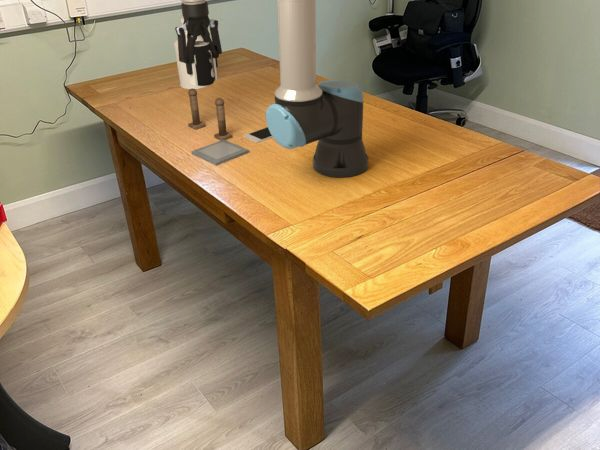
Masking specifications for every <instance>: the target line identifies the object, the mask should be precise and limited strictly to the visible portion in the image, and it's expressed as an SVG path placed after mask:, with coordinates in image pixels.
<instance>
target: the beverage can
mask: <svg viewBox="0 0 600 450" xmlns="http://www.w3.org/2000/svg"><path fill="white" fill-rule="evenodd" d="M192 63H195V67H196V74H197V82H198V85H197V86H206V87H208V86H212V85H213V84H214V82H215V81H216V80H215V77H214V68H213V59H212V51H211V46H210V45H209V42H208V43H206V42H204V41H196V42H195V49H194V55H193V62H192ZM207 85H208V86H207Z"/></svg>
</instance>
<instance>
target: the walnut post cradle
mask: <svg viewBox="0 0 600 450" xmlns="http://www.w3.org/2000/svg"><path fill="white" fill-rule="evenodd" d="M187 93H188V94H187V95H188V96H189V105H190V111H191V112H190V113H191V119H192V120H191V121H192V122H190V123H188V124H187V125H188V126H187V127H188V128H190V129H193V130H198V129H201V128H205V127H206V123H205V122H203V121H201V118H200V108H199V102H198V91H197V89H193V88H192V89H188V92H187ZM214 105H215V110H216V118H217V127H218V133H215V134H214V135H213V137H214V138H215V139H217V140H218V141H221V140H229V139H232V138H233V133H230V132H228V130H227V120H226V112H225V100H224V98H221V97H217V98H215V101H214Z"/></svg>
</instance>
